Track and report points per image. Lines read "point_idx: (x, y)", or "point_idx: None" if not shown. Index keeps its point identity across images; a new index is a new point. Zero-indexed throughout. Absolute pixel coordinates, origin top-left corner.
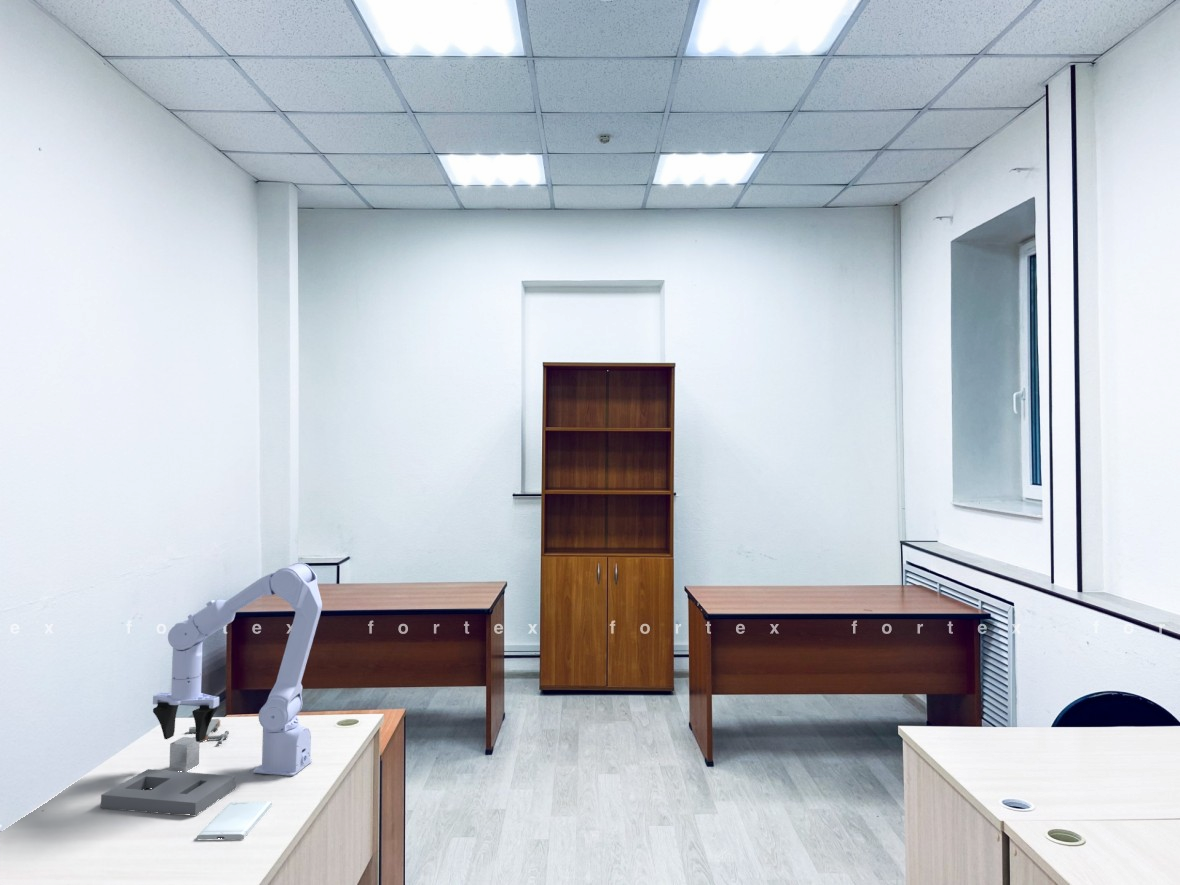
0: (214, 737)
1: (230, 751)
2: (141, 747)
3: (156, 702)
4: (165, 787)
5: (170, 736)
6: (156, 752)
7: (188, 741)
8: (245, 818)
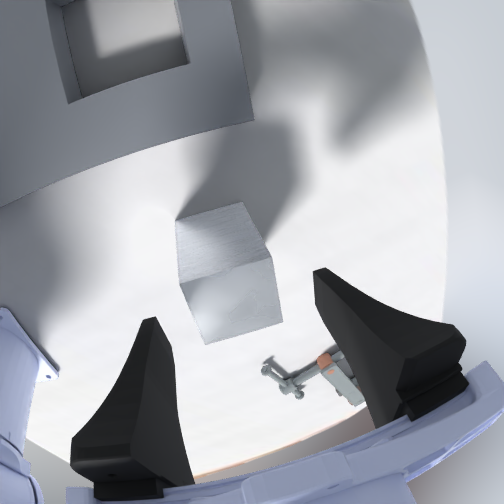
0: (304, 375)
1: (203, 361)
2: (434, 270)
3: (475, 380)
4: (14, 47)
5: (315, 292)
6: (388, 271)
7: (214, 308)
8: None
